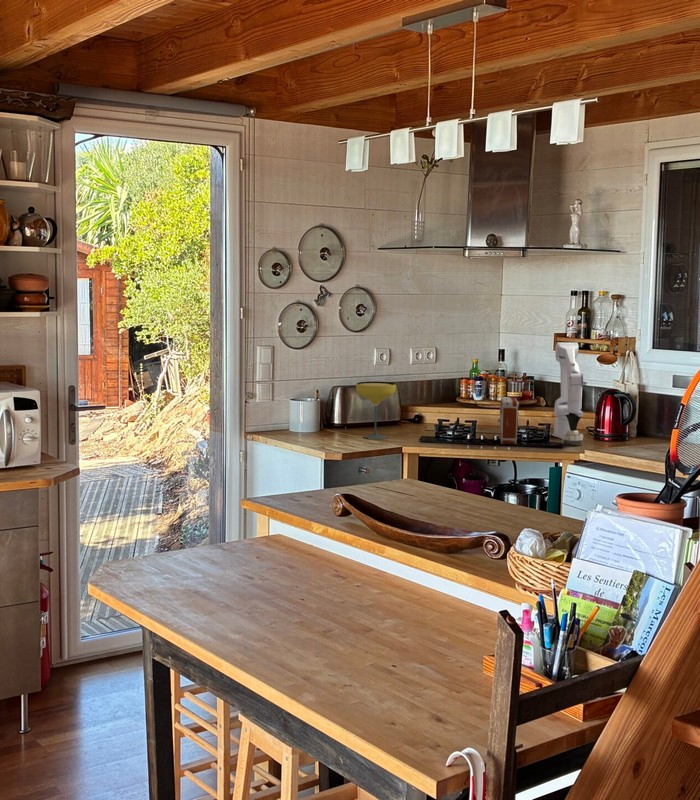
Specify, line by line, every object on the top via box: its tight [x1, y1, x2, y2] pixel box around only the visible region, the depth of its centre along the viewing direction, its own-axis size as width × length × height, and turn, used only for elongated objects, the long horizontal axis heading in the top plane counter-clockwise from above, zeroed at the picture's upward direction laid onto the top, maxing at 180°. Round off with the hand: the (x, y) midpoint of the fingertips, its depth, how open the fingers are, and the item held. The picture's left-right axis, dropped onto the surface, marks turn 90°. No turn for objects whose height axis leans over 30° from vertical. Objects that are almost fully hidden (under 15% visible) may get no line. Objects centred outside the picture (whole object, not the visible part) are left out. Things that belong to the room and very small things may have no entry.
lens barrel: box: [561, 432, 584, 447], centre depth 449 cm, size 9×9×4 cm
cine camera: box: [497, 396, 520, 446], centre depth 454 cm, size 9×19×20 cm, turn 174°
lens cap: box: [567, 429, 579, 436], centre depth 448 cm, size 5×5×4 cm
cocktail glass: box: [355, 380, 397, 440], centre depth 460 cm, size 18×18×25 cm
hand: (572, 430), depth 448 cm, fingers closed
